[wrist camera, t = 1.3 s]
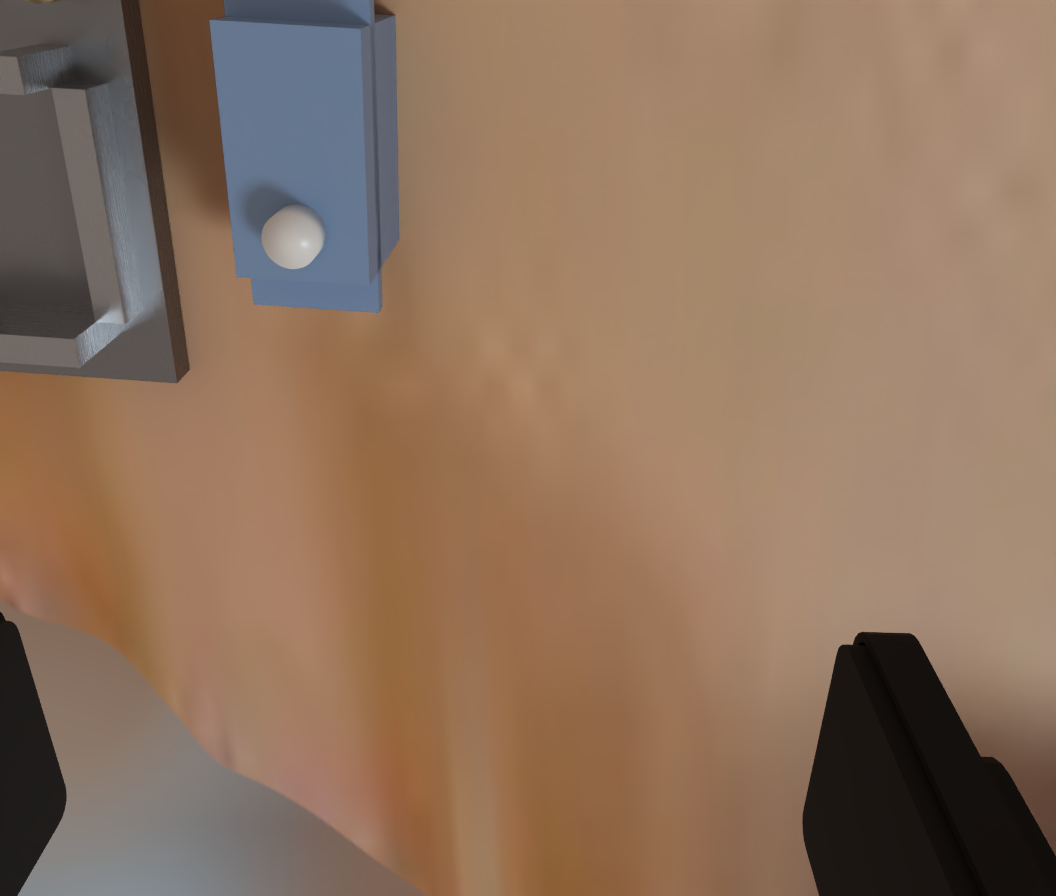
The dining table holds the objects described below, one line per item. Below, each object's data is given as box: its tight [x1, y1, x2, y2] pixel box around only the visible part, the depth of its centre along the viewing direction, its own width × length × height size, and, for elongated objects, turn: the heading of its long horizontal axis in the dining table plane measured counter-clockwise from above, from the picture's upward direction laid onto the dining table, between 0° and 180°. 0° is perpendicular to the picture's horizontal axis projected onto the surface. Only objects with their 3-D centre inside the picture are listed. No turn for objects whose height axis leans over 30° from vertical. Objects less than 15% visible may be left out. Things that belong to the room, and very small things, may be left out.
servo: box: [209, 0, 399, 313], centre depth 28 cm, size 10×4×6 cm, turn 177°
